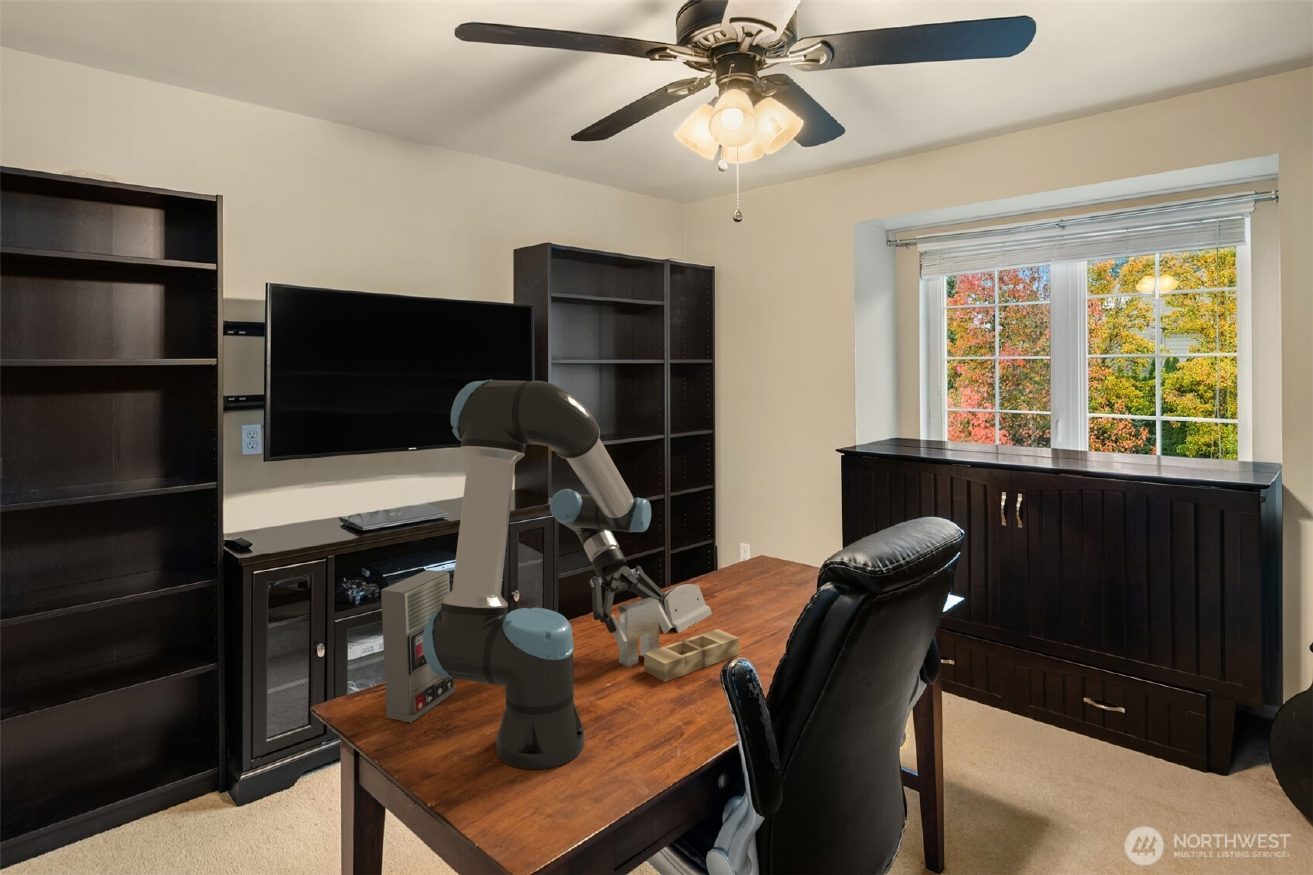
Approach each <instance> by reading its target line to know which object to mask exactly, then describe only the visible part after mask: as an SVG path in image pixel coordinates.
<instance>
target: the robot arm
mask: <svg viewBox="0 0 1313 875" xmlns="http://www.w3.org/2000/svg"><path fill="white" fill-rule="evenodd" d="M450 424H451V427H453V428H452V429H451V430H452V433H453V434H454V436H455V437H456V439H458V440H459V441H460V442H461V443H460V450H461V452H462V453H463V454H464V455H465V457H466V459H467V463H466V464H467V465H466V470H465V471H466V472H465V479H464V489H463V495H462V496H463V497H462V505H461V515H460V522H459V530H458V538H457V547H456V555H455V563H454V572H453V580H452V588H451V590H450V594H449V595H447V596H446V597H445V598H444V599H443V600H442V604H441V609H439V610H437V611H435V612H434V613H433V614H432V615H431V616H430V618H429V623H427V624H426V626H425V629H424V633H423V652H424V656H425V659H426V662H427V664H428V665H429V666H430V668H431V669H432V670H433V671H434V672H435V673H437V674H439V675H442V676H447V677H450V678H452V679H453V680H455V681H460V680H462V681H468V682H473V683H474V682H475V683H479V684H480V683H481V684H487V685H493V686H500V687H504V689H505V708H504V712H503V715H502V718H501V721H500V726H499V728H498V731H497V735H496V740H495V741H496V753H497V756H498V758H499V759H500V760H501V761H502V762H503V763H505V764H507V765H509V766H511V767H514V768H517V769H522V770H523V769H524V770H544V769H550V768H551V769H552V768H555V767H558V766H562V765H564V764H566V763H568V762H570V761H572V760H573V759H575V758H577V756H579V755H580V754H581V752H582V751H583V749H584V747H585V729H584V726H583V723H582V719H581V717H580V715H579V712H578V709H577V707H576V704H575V701H574V699H575V698H574V696H575V695H574V650H575V644H574V638H573V636H574V635H573V628H572V625H571V623H570V622H569V620H568V619H567V618H566V617H565V616H564V615H563V614H561V613H559V612H557V611H554V610H551V609H547V608H541V607H532V608H528V607H522V608H517V609H514V610H512V611H511V610H510V612H508V608H509V607H508V604H509V603H508V602H507V601H506V599H504V597H503V596H502V594H501V593H502V584H503V574H504V567H505V558H506V557H505V556H506V549H507V540H508V531H509V530H508V529H509V522H510V512H511V506H512V505H511V502H512V496H513V494H512V493H513V485H514V478H515V465H516V463H517V462H518V461H520V460H521V459H522V458H524V457H525V453H526V445H532V446H533V445H540V446H545V447H547V448H551V449H552V450H553V452H554V453H555V454H556V455H557V456H559V457H560V458H562V459H565V460H566V461H567V462H568V464H569V465H570V467H571V468H572V469H573V472H574V473H575V474H576V475H577V477H578V478H579V480H580V482H582V484H583V486H584V487H585V489H586V490H587V491H588V494H580V493H579V492H578V491H575V490H573V489H570V488H564V489H560V490H559V491H557V492H556V493H555V494H554V495H553V496H552V498H551V499H550V503H549V510H550V514H551V515H552V516H553V518H554V519H555V520H557V522H558V523H560V524H561V525H563V526H565V527H567V528H569V529H570V530H572V531H573V532H575V534H577V537H578V538H579V540H580V543H581V545H582V546H583V549H584V551H585V553H586V555H587V557H588V559H589V561H590V562H591V566H592V568H593V570H594V572H595V573H596V575H597V576H596V575H593V576H592V577H591V579H590V580H589V582H588V585H589V587H590V590H591V600H592V603H591V604H592V615H593V616H592V617H593V620H594V621H600V623H602V624H604V625H605V627H606V629H607V631H608V632H609V633H610V634H612V635H613V637H614V640H615V641H616V643H617V646H618V648H620V647H622V646H623V645H624V644H625V643H626V642H627V639H626V637H625V635H624V633H623V631H622V629H621V627H620V625H619V620H618V619H617V617H616V615H615V614H612V608H613V603H614V597H615V594H616V593H619V592H624V591H628V592H630V593H631V592H632V593H634V594H635V595H636V596H638V597H639V598H641V600H643V599H646V598H650V597H651V598H653V599H656V600H658V601H659V627H660V628H661V630H662V632H663V634H667V633H668V632H669V631H670V630H671V629H673V628H672V626H671V624H670V622H669V620H668V618H667V616H666V615H667V612H666V610H665V608H664V606H663V604H662V601H663V600H664V599H665V598H666V594H665V592H664V591H663V590H662V589H661V588H660V587H659V586H658V585H657V584H656V583H655V582H654V581H653V580H652V579H651V578H649V576H648V575H646V573H645V572H644V570H643V569H642V567H641V566H640V565H637V566H636V567H635V568H633V569H630V568H629V567H628V564H627V560H626V557H625V556H624V553H623V551H622V550H621V549H620V545H619V543H618V541H617V539H616V538H615V536H614V534H613V533H612V531H617V532H628V533H633V532H634V533H643V532H645V531H647V530H648V528H649V526H650V523H651V519H652V507H651V503H650V501H649V500H648V499H646V498H641V497H634V496H633V494H632V493H631V490H630V489H629V487H628V485H627V483H625V481H624V479H623V477H622V476H621V474H620V472H619V470H618V468H617V466H616V465H615V463H614V461H613V459H612V458H611V456H610V454H609V453H608V451H607V449H606V447H605V445H604V444H603V443H602V440H601V438H600V436H601V433H600V432H601V431H600V427H599V424H598V423H597V421H596V419H595V418H594V415H593V414H592V413H591V412H590V411H589V409H588V408H587V407H586V406H585V405H584V404H583V403H582V402H581V401H580V400H578V399H577V398H576V397H575V396H573V395H572V394H571V393H570V392H569V391H567V390H565V388H562V387H560V386H558V385H556V384H554V383H552V382H547V381H543V380H530V381H529V380H506V379H505V380H504V379H503V380H501V379H500V380H499V379H489V380H488V379H486V380H479V381H478V380H477V381H472V382H469V383H467V384H466V385H465V386H464V387H463V388H462V389H460V391H459V392H458V393H457V395H456V396H455V399H454V400H453V404H452V407H451V411H450ZM602 586H604V587H605V592H604V595H605V597H604V601H603V600H602Z"/></svg>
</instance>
